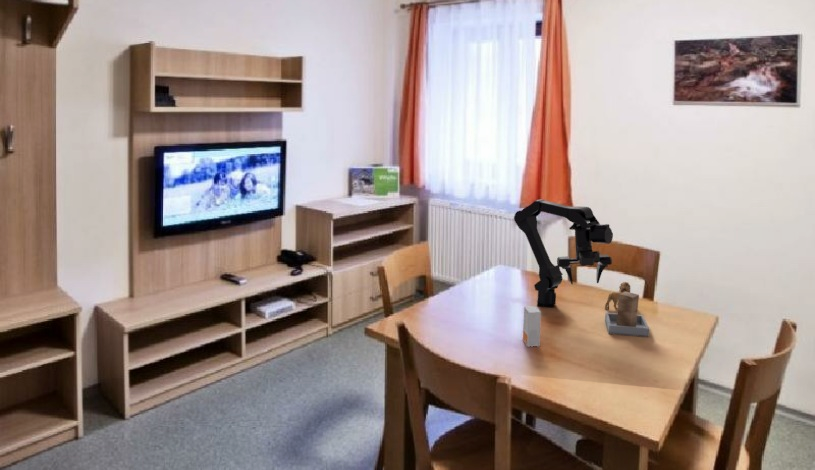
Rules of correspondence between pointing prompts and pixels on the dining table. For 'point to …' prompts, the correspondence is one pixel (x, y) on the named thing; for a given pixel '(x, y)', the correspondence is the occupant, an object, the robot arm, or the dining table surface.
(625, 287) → the lion figurine
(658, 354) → the dining table surface
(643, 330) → the tray
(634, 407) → the dining table surface
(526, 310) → the skincare box
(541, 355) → the dining table surface
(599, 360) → the dining table surface
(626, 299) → the walnut block
